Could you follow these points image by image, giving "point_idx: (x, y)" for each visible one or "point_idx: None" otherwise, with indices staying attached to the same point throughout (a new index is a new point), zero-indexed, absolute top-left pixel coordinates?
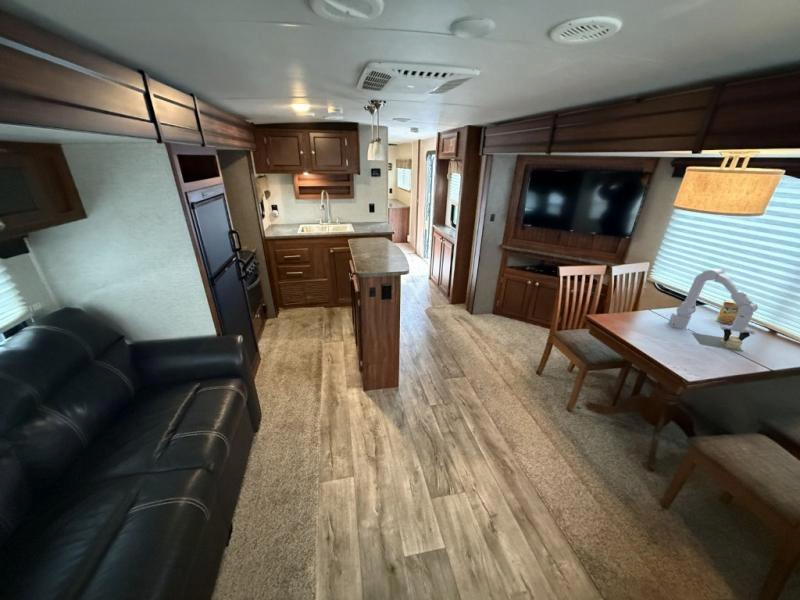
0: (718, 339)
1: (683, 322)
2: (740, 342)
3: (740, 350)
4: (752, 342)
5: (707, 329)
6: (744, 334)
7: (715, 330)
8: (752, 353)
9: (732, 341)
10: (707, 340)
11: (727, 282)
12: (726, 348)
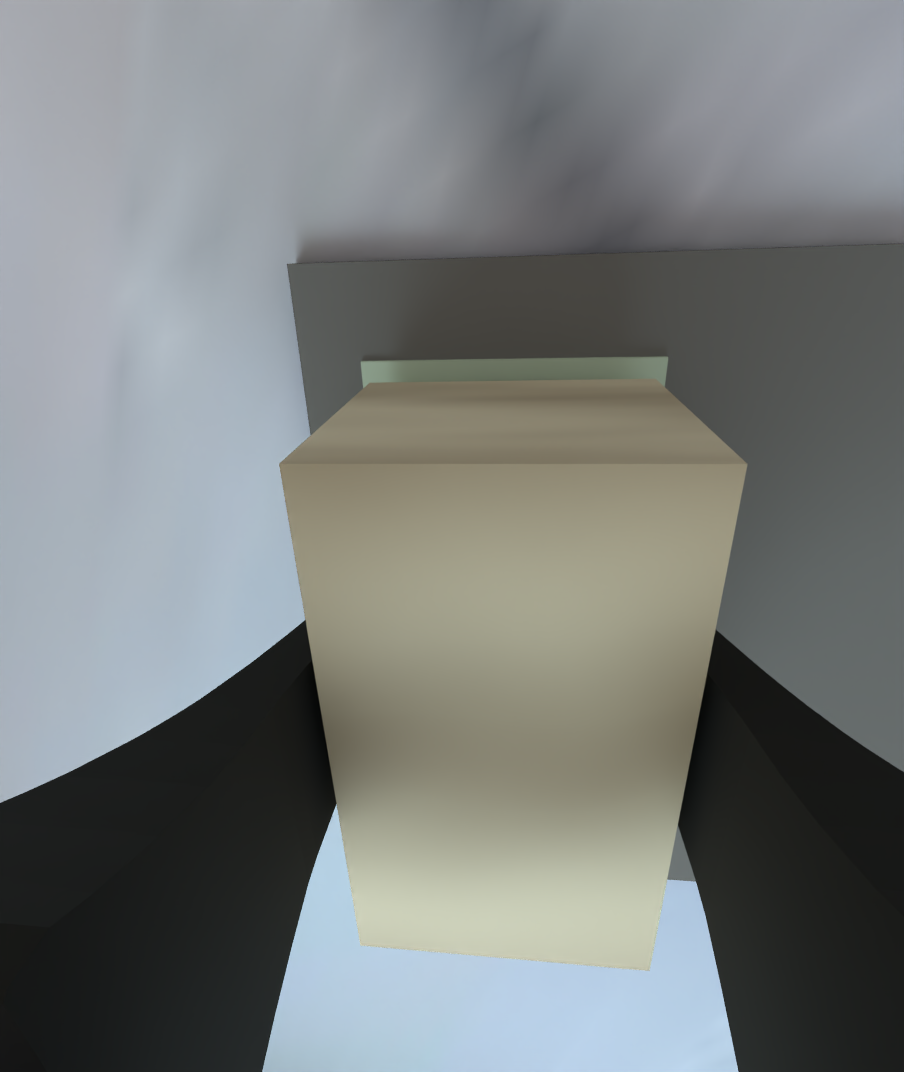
0: None
1: None
2: (357, 454)
3: (353, 319)
4: None
5: (629, 1050)
6: (64, 994)
7: (512, 1044)
8: (96, 306)
9: (662, 447)
10: None
11: None
12: (719, 283)
